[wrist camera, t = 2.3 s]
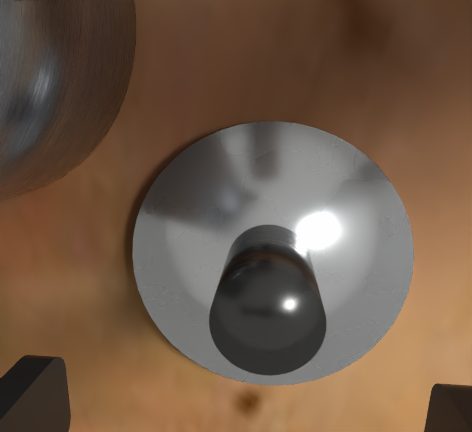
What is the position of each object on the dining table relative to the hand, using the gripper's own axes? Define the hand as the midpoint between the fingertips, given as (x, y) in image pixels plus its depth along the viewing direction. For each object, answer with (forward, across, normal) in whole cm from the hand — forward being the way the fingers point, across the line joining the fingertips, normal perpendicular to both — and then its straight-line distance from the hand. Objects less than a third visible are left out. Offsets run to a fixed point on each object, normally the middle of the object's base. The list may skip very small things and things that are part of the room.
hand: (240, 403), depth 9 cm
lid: (+10, -1, 0) cm, 10 cm away
